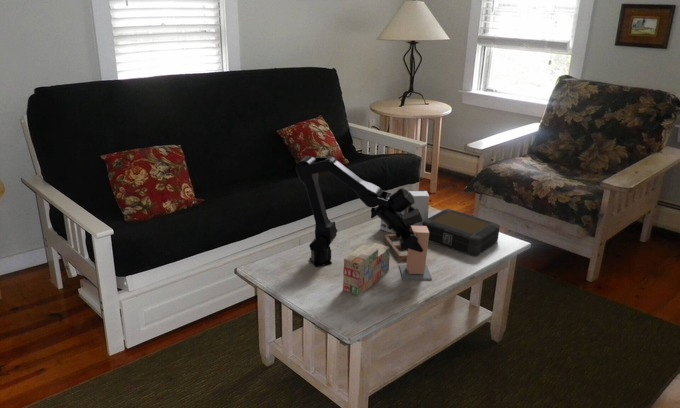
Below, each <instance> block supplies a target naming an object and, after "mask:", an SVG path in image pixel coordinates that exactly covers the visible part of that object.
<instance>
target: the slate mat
mask: <svg viewBox="0 0 680 408" xmlns="http://www.w3.org/2000/svg"><path fill="white" fill-rule="evenodd" d="M398 268H399V270H400V274H401V277H402V281H432V280H433V278H432V274H431V273H430V270H429V267H428V265H427V264H425V272H424V274H409V273H408V270H407V267H406V264H398Z"/></svg>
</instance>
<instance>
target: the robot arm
mask: <svg viewBox="0 0 680 408" xmlns="http://www.w3.org/2000/svg"><path fill="white" fill-rule="evenodd" d="M295 171H296V173H297V176H298V178H299V180H300V181H301V182H302V183H303V185H304V186H305V189H306V190H305V191H306V193H307V196H308V201H309V204H310V207H311V210H312V215H313V218H314V223H315V226H314V227H315V228H314V239H313V240H312V241H311V242H310V244H308V246H309V249H310V257H309V261H310V262H311V263H312V264H313V265H314V266H315V267H322V266H328V265H331V264H333V262H332V249H331V246H330V245H331V244H332V243H333V241H334V240H335V239H336V237H337V233H338V229H337V227H336V222H335V221H331V220H330V219H329V216H328V213H327V210H326V206H325V205H326V204H325V202H324V198H323V195H322V191H321V187H320V183H319V175H320V174H319V173H323V172H328V173H330V174H331V175H332V176H334V177H335V178H337V179H338V180H339V181H341V182H342V183H343V184H344V185H346V186H347V187H348V188H349V189H351V190H353V191H354V193H356V195H357V197H358V198H359V200H360V201H361V202H362V203H363V204H364V205H365V206H366V207H368V208H371V209H370V213H371V214H370V218H371V219H374V218H375V217H376V216H377V217H378V218H379V219H380V221H381V220H382V221H383V222H384V223H385V224H386V225H387V226H388V229H389V230H392V231H393V232H394V233H393V234H396V237H397V238H399V237H400V236H401V237H402V238H401V239H398V240H399V243H398V244H400V247H401V248H402V250H403V251H404V252H406V251H408V249H412V250H415V251H418V252H423V249H422V247H421V246H420V244H419V243H418V236H417V234H415V233H414V232H413V231H410V229H411V226H413V224H416V223H418V222H419V223H420V222H422V221H423V219H422V216H421V214H420V212H419V209H417V208H416V209H415V208H414V207H413V206H412V205H413V204H414V203H415V200H414V198H413V196H412V194H411V193H410V192H408V190H407V189H405V188H404V187H403V186H401V187H399V188H398V190H396V191H394V192H390V191H387V190H383V189H382V187H379V186H377V185H376V184H374V183H372V182H369V181H366V180H363V179H362V178H360V177H359V176H358V175H356V174H355V173H354V172H353V171H352V170H350V169H349V168H347V166H345V165H343V164H342V163H341V162H340V161H338V160H337V159H336V158H335V157H333V156H329V157H328V156H327V157H325V156H318V157H317V156H316V157H313V156H311V155H308V156H305V157H304V158H303V159H301V160H300V161H299V162H297V164H296V166H295ZM407 208H408V209H407ZM405 209H407V212H406V213H405V214H402V213H401V212H402V211H404V210H405Z"/></svg>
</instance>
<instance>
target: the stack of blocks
mask: <svg viewBox="0 0 680 408" xmlns="http://www.w3.org/2000/svg"><path fill="white" fill-rule="evenodd" d="M390 251H391V249H390V247H388V245H384V244H379V243H376V242H374V243H373V244H372V245H371V246H367V245H364V244H361V245H360V246H359V247H358V248H356V250H354V251H353V252H351V253H349V254H348V255H346V256H345V257H343V280H342V281H343V283H342V291H343V292H347V293H349V294H353V295H355V296H358V297H359V296H361V294H363V293H364V292H365V291H366V290H368V289H369V288H370V287H371V286H373V284H375V283H376V281H378V280H379V279H380V278H382V276H384V275H385V274H386V273H388V271H390V257H391V256H390V253H391V252H390Z"/></svg>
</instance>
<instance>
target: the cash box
mask: <svg viewBox="0 0 680 408" xmlns="http://www.w3.org/2000/svg"><path fill="white" fill-rule="evenodd" d="M422 226H427V228H428V231H429V240H428V242H432V243H434V244H437V245H441V246H443V247H444V248H445V247H446V248H449V249H452V250H454V251H457V252H460V253H463V254H465V255H468V256H471V257H477V256H479V255H481V254H482V253H483V252H486V251H487V250H488V249H490V248H491V247H492V246H495V245H496V244H497V243H498V241H499V235H500V234H499V233H500V227H501V225H500V224H498V223H495V222H492V221H489V220H486V219H482V218H480V217H476V216H473V215H470V214H467V213H463V212H460V211H457V210H453V209H450V208H445V209H442V210H441V211H439V212H438V213H436V214H433V215H431V216H430V217H428V219H426V220H424V221H423V225H422Z"/></svg>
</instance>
